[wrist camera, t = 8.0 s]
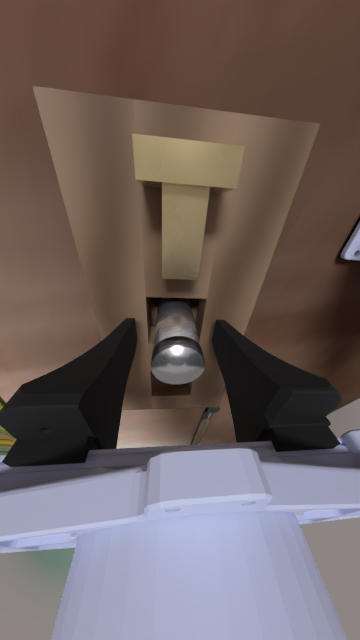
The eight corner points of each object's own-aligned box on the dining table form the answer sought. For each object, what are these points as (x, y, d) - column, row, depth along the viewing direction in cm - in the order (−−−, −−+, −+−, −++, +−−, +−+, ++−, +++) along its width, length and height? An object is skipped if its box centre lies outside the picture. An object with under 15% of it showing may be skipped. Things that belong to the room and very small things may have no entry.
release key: (226, 161, 8) (245, 146, 6) (209, 270, 11) (217, 283, 9) (140, 152, 7) (132, 133, 6) (146, 268, 10) (142, 280, 8)
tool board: (286, 143, 9) (320, 123, 7) (213, 389, 23) (217, 407, 21) (66, 116, 8) (32, 86, 6) (125, 391, 22) (120, 410, 20)
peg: (192, 292, 14) (209, 348, 8) (189, 321, 16) (201, 384, 10) (157, 291, 14) (149, 348, 8) (157, 320, 16) (151, 385, 10)
